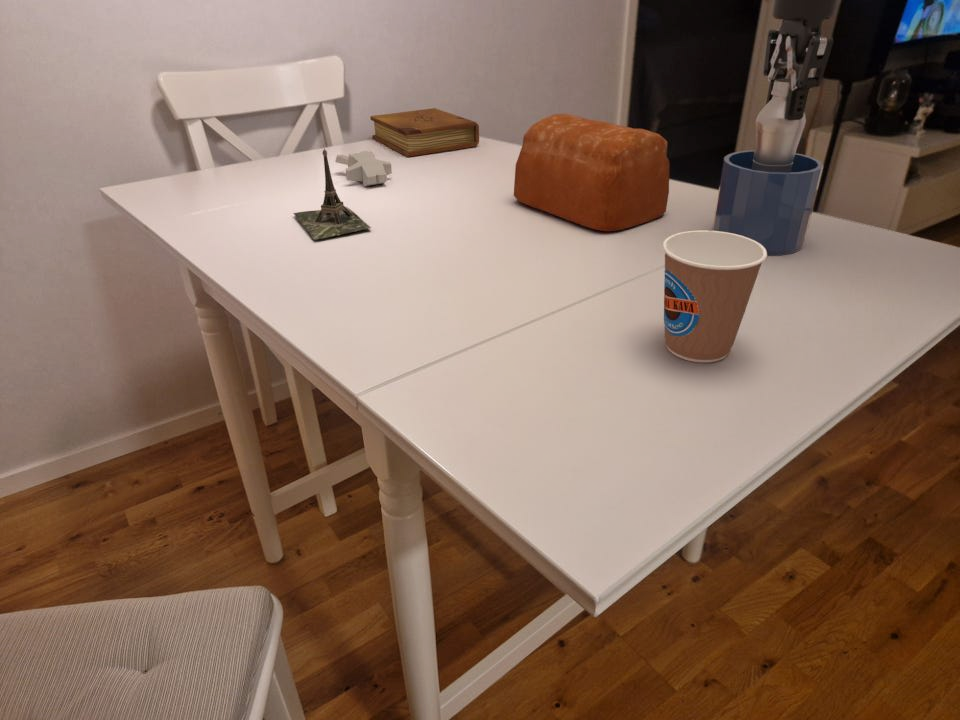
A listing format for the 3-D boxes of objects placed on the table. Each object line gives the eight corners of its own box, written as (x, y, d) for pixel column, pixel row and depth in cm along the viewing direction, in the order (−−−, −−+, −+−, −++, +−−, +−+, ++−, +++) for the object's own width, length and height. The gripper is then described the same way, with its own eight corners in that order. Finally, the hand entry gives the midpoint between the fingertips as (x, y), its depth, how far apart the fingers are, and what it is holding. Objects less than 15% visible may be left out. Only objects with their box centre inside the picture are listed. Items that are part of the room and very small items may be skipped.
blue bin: (780, 223, 108) (796, 148, 102) (820, 253, 96) (841, 171, 90) (699, 226, 108) (711, 151, 101) (730, 257, 96) (745, 175, 90)
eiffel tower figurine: (291, 216, 117) (278, 138, 110) (346, 206, 121) (337, 131, 114) (314, 242, 105) (300, 158, 98) (374, 231, 109) (365, 149, 102)
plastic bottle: (792, 227, 98) (824, 83, 87) (746, 228, 98) (773, 84, 87) (775, 213, 103) (803, 76, 93) (731, 214, 103) (756, 77, 93)
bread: (604, 237, 104) (612, 141, 96) (507, 201, 121) (507, 117, 113) (674, 214, 113) (686, 124, 105) (574, 184, 130) (578, 104, 122)
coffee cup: (635, 332, 77) (645, 235, 71) (714, 321, 79) (731, 225, 73) (677, 377, 69) (693, 272, 63) (764, 363, 71) (789, 260, 65)
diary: (479, 146, 158) (478, 121, 155) (407, 157, 150) (405, 131, 148) (438, 129, 175) (437, 106, 172) (372, 138, 168) (370, 115, 165)
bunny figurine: (353, 171, 126) (328, 146, 137) (355, 196, 129) (331, 170, 140) (399, 164, 130) (371, 140, 141) (400, 188, 133) (373, 164, 144)
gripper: (871, -24, 78) (835, 124, 86) (812, -25, 90) (786, 104, 99) (808, -22, 78) (778, 126, 86) (758, -24, 90) (737, 106, 99)
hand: (782, 114), depth 92 cm, fingers closed on plastic bottle, 6 cm apart
